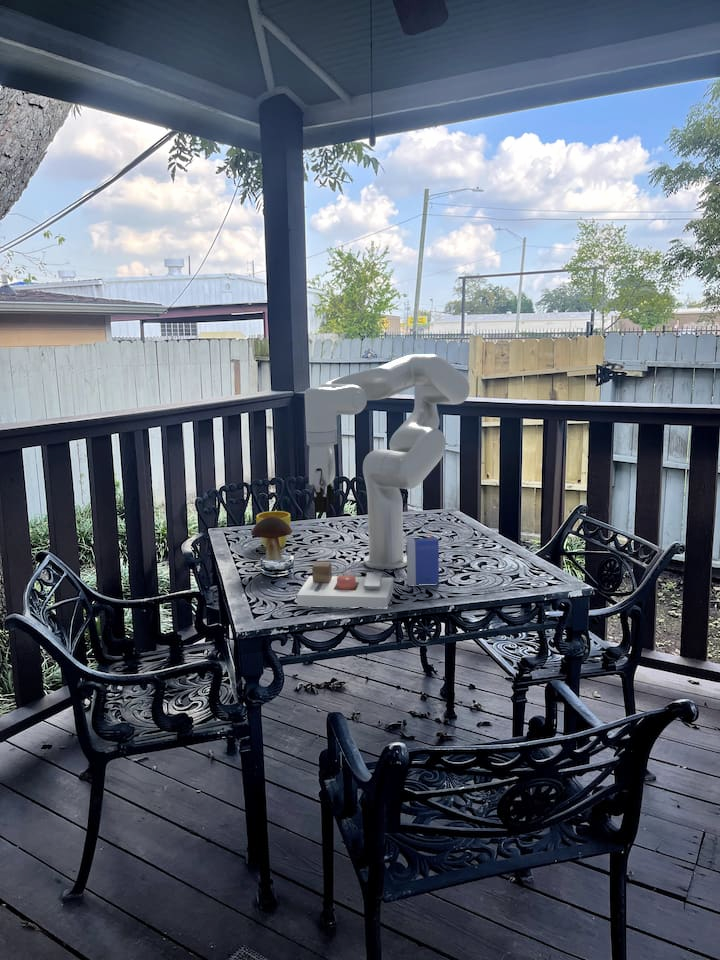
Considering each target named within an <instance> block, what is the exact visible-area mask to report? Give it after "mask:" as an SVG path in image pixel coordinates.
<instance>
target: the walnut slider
mask: <svg viewBox="0 0 720 960" xmlns="http://www.w3.org/2000/svg"><path fill="white" fill-rule="evenodd" d="M311 568H312V576H313V582H330V580H331V578H332V576H333V575H332V562H329V561H328V562H327V561H315V562H314V563H313V564H312V567H311Z"/></svg>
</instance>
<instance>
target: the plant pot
mask: <svg viewBox="0 0 720 960" xmlns="http://www.w3.org/2000/svg"><path fill="white" fill-rule="evenodd" d="M271 516H272V517H277V518H280V519H282V520H283V521H284V522H286V523H287V524H288V525H289V526H290V527H291V513H289V512H288V511H287V512H286V511H282V510H279V511H278V510H273V511H272V510H270V511H263V512H260V513H258V514H257V515H256V516H255V520H256V524H257V523H259V522H260V521H261V520H263V519H265V518H267V517H271ZM256 524H255V525H256ZM287 537H288V535H286V536H283V537H278V540H279V544H280V549H281V548H284V547H285V546H286V543H287ZM260 538H261V542H262V545H263V547H264V548H265V549H266V542H267V538H263V537H260Z"/></svg>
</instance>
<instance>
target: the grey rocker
mask: <svg viewBox="0 0 720 960" xmlns="http://www.w3.org/2000/svg"><path fill="white" fill-rule="evenodd" d="M365 577H366V579H365V583H364V589H380V584H381V579H382V577H383V572H371V571H367V572H366V575H365Z"/></svg>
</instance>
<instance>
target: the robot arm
mask: <svg viewBox="0 0 720 960" xmlns="http://www.w3.org/2000/svg"><path fill="white" fill-rule="evenodd" d="M469 384H470V383H469V380H468V379H467V377H466V375H464V373H462V372H461V371H460V370H459V369H457V368H455V366H454V365H452V364H451V363H450V362H448V361H447V360H446V359H444V358H443V357H442V356H439V355H437V354H434V353H427V354H425V353H421V354H420V353H419V354H417V353H416V354H408V355H404V356H401V357H398V358H396V359H394V360H391V361H389V362H387V363H384V364H380V365H379V366H376V367H373V368H369V369H364V370H361V371H357V372H353V373H352V374H351V373H350V374H346V375H344V376H340V377H336V378H334V379H332V380H330V381H327V382H324V383H322V384H321V385H320V386H312V387H308V388H307V389H305V392H304V411H305V413H304V414H305V415H304V416H305V431H306V433H305V434H306V436H305V437H306V446H309V451H308V484H309V486H311V487H314V492H313V493H314V494H313V501H314V513H317V514H319V513H321V514H326V513H328V512H329V505H335V503H336V501H335V500H336V499H335V484H334V480H335V479H336V458H335V457H336V456H335V445H337V444H338V443H339V442H338V424H337V423H338V421H337V420H338V419H337V418H338V417H337V416H338V415H340V416H341V415H344V416H354V415H357V414H359V413H361V412H362V411H363V410H365V408H366V406H367V401H379V400H383V399H389V398H391V397H393V396H395V395H397V394H400V393H401V392H404V391H406V390H409V389H411V388H413V395H414V396H413V397H414V407H413V411H412V412H411V414H410V415H409V416H408V418H407V419H405V421H404V422H403V423H402V424H401V425H400V426H399V428H397V430H395V432H394V433H393V434H392V436H391V437H390V440H389V444H388V445H389V446H388V447H389V449H385V448H384V449H374V450H371V451H370V452H369V453H368V454H367V455H365V457H364V460H363V463H362V475H363V478H364V483H365V486H366V496H367V498H366V499H367V522H368V523H367V524H368V525H367V528H368V555H366V556H365V557H364V558H363V564H364V565H365V566H366V567H368V568H370V569H374V568H375V570H384V569H387V570H397V569H401V568H404V567H407V555H406V553H405V554H404V521H403V519H404V517H403V516H404V515H403V511H404V510H403V508H404V507H403V505H404V503H403V496H402V493H401V490H400V489H402V490H403V489H404V490H411V489H412V490H413V489H414V488H417V487H418V486H419V485H420V484H421V483H422V482H423V481H424V480H425V479H426V478H427V477H428V475H429V474H430V473H431V472H432V470H434V468H435V467H436V466H437V465H438V463H439V462H440V460H441V459H442V458H443V456H444V454H445V451H446V443H447V442H446V437H445V434H444V433H443V432H442V431H441V430H440V429H439V426H440V415H439V412H438V407H437V405H460V404H463V403H464V402H465V401H466V400H467V399H468V397H469V395H470V390H471V388H470V385H469ZM396 568H397V569H396Z"/></svg>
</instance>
